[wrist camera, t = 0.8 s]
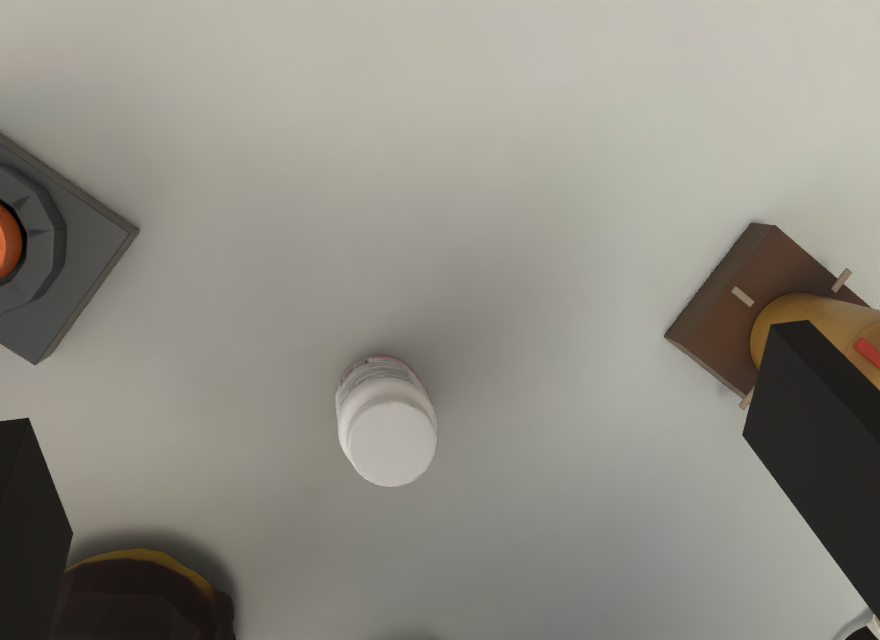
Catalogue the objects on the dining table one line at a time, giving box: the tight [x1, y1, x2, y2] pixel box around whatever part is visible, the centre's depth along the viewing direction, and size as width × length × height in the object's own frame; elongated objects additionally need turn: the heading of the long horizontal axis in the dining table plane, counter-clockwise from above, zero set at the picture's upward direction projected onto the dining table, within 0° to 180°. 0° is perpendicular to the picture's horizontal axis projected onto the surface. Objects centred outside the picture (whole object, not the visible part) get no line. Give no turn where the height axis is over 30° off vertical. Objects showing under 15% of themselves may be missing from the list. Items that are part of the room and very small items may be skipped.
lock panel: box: [664, 223, 871, 410], centre depth 46 cm, size 10×9×3 cm
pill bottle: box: [336, 356, 437, 487], centre depth 41 cm, size 5×5×8 cm
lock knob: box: [750, 292, 880, 390], centre depth 41 cm, size 5×5×8 cm
